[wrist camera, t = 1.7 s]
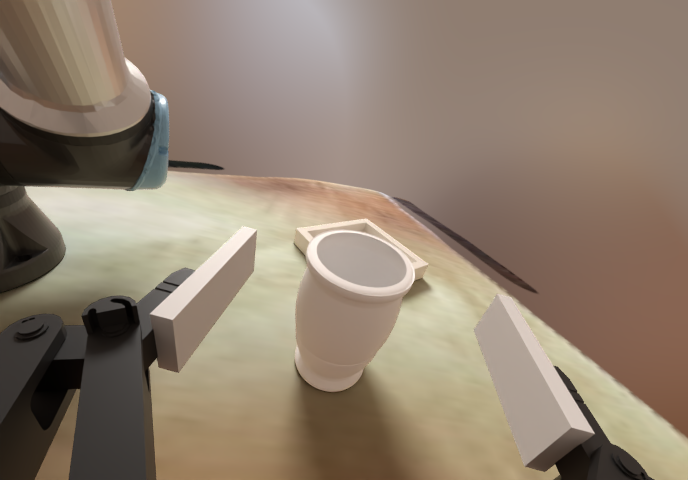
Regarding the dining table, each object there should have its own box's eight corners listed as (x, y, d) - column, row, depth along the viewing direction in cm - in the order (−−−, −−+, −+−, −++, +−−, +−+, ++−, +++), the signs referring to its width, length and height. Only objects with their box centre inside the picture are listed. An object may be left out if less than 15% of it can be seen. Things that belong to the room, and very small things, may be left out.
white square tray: (293, 242, 53) (296, 228, 51) (362, 230, 64) (366, 218, 62) (350, 305, 42) (355, 289, 40) (422, 277, 53) (428, 264, 51)
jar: (313, 312, 39) (337, 218, 31) (382, 348, 36) (424, 254, 29) (265, 371, 30) (282, 258, 22) (351, 424, 27) (401, 315, 20)
